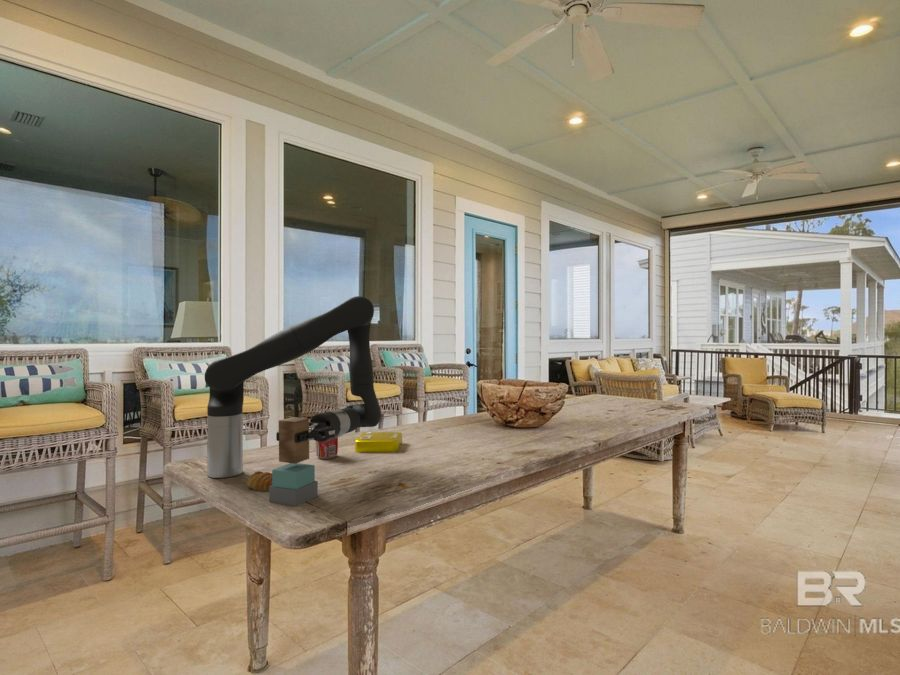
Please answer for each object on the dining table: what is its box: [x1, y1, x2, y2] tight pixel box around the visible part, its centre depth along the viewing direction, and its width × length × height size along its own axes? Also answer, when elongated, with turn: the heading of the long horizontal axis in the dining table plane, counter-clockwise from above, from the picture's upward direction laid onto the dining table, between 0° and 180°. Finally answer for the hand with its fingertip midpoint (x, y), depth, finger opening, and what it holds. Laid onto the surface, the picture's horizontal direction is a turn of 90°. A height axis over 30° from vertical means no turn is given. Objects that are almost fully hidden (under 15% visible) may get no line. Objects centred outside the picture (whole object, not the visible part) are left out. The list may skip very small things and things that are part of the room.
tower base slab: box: [268, 480, 319, 507], centre depth 119 cm, size 8×8×4 cm
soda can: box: [315, 437, 339, 460], centre depth 160 cm, size 7×7×12 cm
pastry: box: [246, 471, 272, 492], centre depth 128 cm, size 9×7×4 cm
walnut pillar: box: [278, 416, 310, 464], centre depth 120 cm, size 5×5×10 cm
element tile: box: [354, 431, 403, 453], centre depth 174 cm, size 15×15×5 cm
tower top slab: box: [271, 462, 316, 490], centre depth 119 cm, size 7×7×4 cm
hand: (286, 437), depth 117 cm, fingers closed on walnut pillar, 5 cm apart
